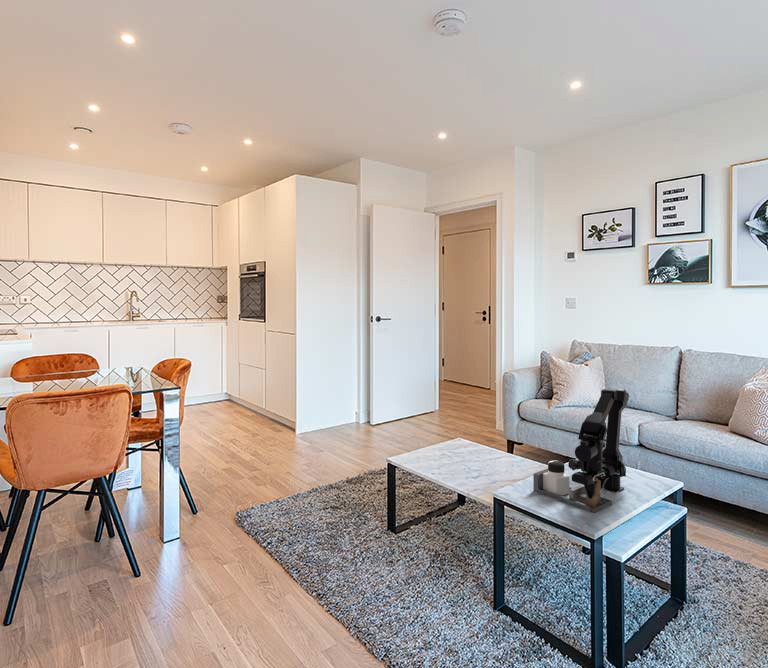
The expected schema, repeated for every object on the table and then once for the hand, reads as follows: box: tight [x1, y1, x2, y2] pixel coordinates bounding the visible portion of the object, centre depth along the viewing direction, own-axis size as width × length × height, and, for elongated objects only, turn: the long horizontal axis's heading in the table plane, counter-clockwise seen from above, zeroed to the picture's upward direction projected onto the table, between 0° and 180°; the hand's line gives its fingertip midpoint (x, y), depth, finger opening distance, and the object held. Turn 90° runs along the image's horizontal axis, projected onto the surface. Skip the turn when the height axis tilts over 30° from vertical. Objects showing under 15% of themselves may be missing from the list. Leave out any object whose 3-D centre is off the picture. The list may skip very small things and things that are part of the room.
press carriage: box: [568, 477, 602, 507], centre depth 180 cm, size 8×9×10 cm
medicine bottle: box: [543, 460, 571, 496], centre depth 190 cm, size 7×7×12 cm
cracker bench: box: [532, 468, 613, 514], centre depth 185 cm, size 12×26×7 cm, turn 36°
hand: (593, 497), depth 178 cm, fingers open, 4 cm apart
